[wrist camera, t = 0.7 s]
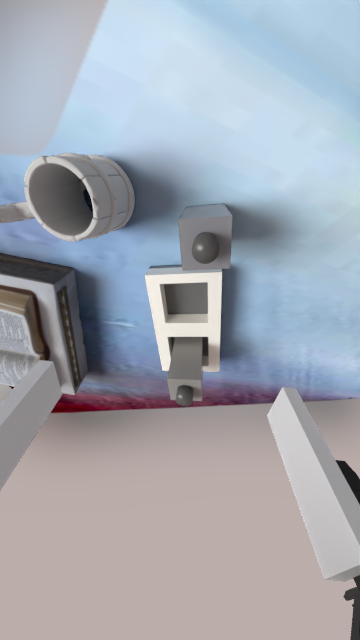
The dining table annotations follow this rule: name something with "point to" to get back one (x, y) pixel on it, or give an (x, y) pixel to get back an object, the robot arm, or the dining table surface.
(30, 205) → the mug
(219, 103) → the dining table surface
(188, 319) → the strip
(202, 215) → the plug
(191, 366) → the twin plug
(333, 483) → the robot arm
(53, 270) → the bible
